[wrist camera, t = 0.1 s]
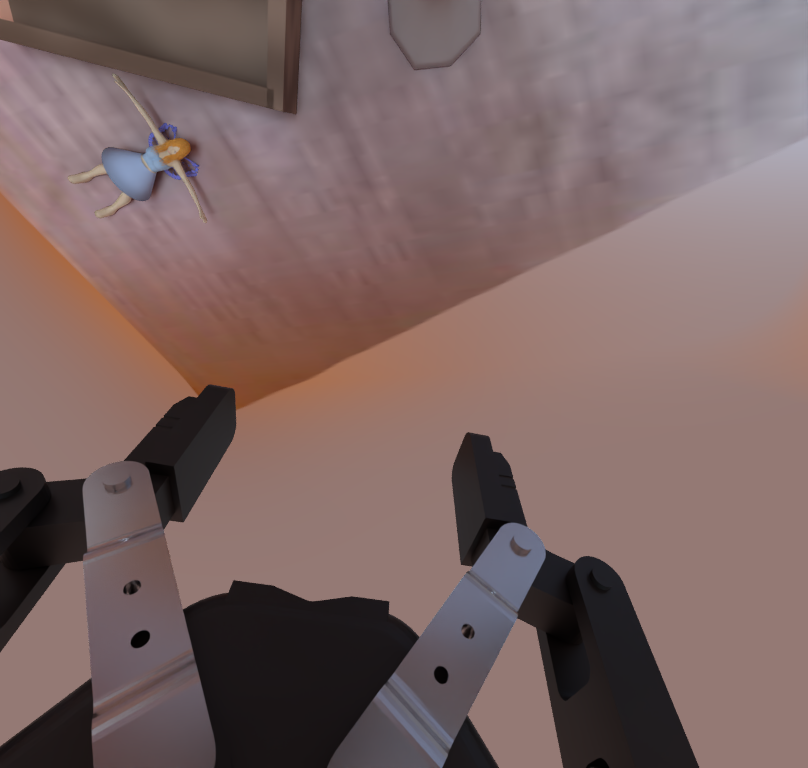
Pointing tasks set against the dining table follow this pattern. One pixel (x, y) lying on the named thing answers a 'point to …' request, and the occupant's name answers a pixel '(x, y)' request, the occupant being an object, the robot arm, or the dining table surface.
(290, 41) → the walnut cubby
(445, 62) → the flask
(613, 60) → the dining table surface
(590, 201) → the dining table surface
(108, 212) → the fairy figurine
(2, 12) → the terracotta mat
